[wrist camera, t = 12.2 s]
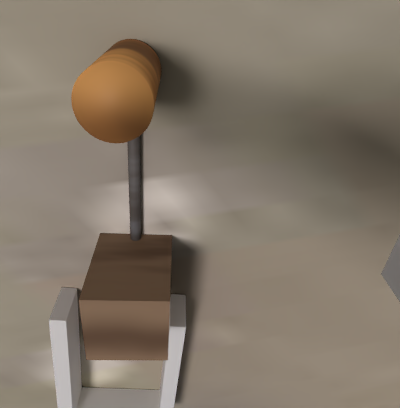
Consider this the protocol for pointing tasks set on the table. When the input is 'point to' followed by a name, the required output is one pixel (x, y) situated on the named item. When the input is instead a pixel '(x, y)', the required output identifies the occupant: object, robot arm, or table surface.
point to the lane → (109, 397)
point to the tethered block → (135, 241)
